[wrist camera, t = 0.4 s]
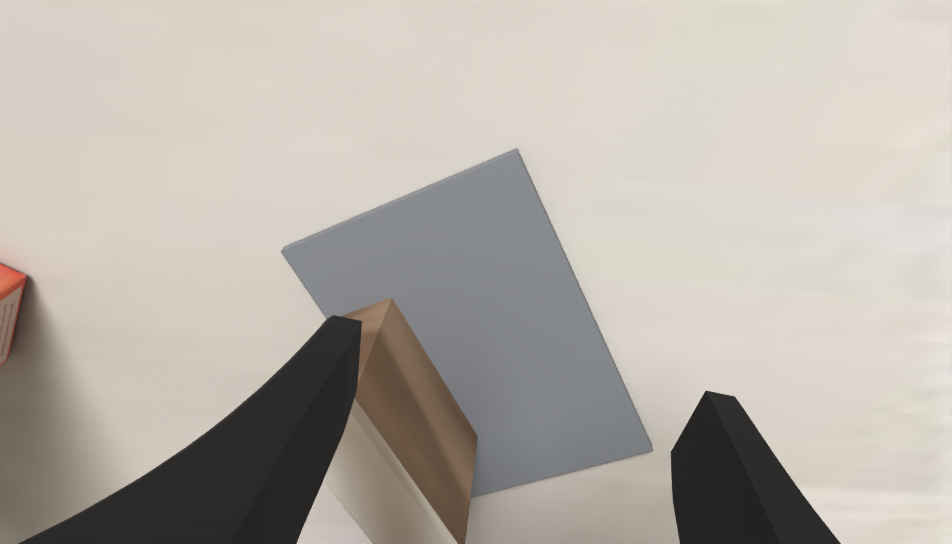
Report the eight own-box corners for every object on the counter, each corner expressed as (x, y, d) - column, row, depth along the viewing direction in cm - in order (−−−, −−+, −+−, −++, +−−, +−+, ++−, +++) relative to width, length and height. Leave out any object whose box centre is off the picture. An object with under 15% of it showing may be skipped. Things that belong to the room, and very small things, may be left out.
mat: (453, 495, 31) (452, 502, 31) (284, 246, 25) (280, 251, 24) (651, 444, 28) (653, 450, 28) (517, 147, 22) (516, 151, 21)
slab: (429, 450, 29) (401, 579, 23) (339, 316, 26) (282, 430, 20) (477, 436, 28) (461, 566, 23) (391, 297, 25) (348, 409, 19)
